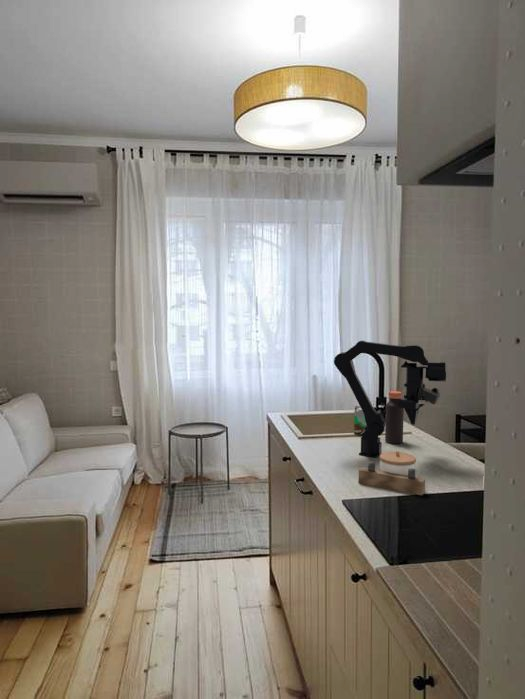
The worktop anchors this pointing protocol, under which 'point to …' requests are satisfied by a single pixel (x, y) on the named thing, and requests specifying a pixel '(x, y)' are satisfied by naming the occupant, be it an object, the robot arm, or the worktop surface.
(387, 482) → the stop bar
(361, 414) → the food container
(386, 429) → the bottle
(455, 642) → the worktop surface
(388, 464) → the lidded jar
